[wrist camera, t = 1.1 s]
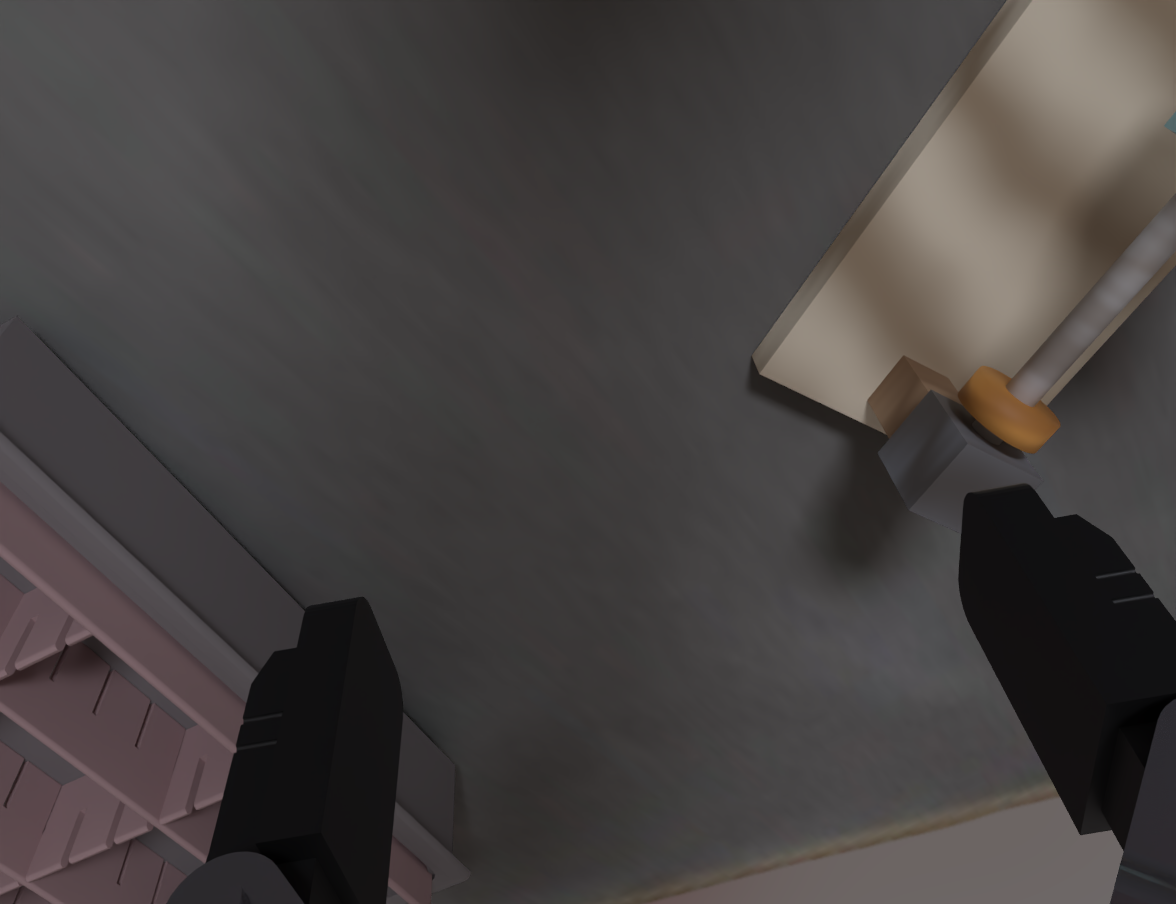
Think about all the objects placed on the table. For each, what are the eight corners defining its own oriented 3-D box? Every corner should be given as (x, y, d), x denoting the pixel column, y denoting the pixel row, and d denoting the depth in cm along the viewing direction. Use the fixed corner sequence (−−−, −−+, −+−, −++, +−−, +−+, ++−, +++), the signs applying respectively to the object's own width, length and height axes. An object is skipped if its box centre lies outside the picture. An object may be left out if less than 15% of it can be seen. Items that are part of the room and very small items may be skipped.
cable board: (1191, -256, 31) (1399, -255, 24) (1424, -51, 35) (1662, 3, 28) (751, 355, 43) (804, 481, 35) (966, 459, 47) (1053, 590, 39)
